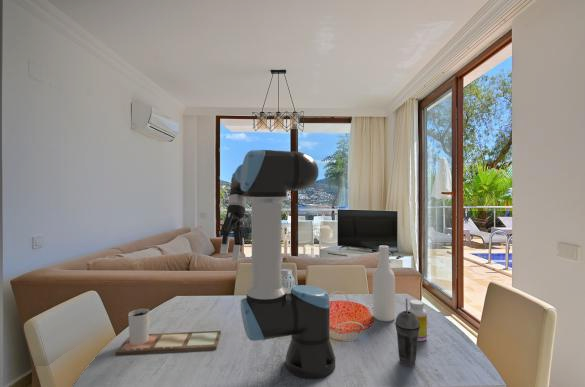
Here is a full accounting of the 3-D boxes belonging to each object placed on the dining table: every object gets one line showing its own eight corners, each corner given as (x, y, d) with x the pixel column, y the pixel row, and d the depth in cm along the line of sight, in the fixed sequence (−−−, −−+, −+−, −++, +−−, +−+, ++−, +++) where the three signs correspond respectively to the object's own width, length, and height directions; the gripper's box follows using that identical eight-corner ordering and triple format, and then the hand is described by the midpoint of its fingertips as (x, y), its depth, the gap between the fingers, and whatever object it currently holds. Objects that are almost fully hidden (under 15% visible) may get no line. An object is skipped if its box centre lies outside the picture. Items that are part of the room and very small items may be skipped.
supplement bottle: (429, 337, 112) (429, 301, 112) (422, 343, 107) (422, 306, 107) (411, 331, 117) (411, 297, 116) (403, 337, 112) (403, 302, 112)
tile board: (216, 349, 104) (216, 346, 104) (115, 355, 100) (115, 351, 100) (220, 333, 116) (220, 330, 116) (130, 337, 112) (130, 334, 112)
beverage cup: (422, 360, 97) (422, 296, 97) (417, 371, 91) (417, 303, 91) (398, 353, 101) (398, 292, 101) (392, 364, 95) (392, 298, 95)
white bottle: (399, 318, 128) (399, 246, 128) (385, 324, 123) (385, 248, 123) (382, 312, 135) (382, 243, 135) (368, 316, 130) (368, 245, 130)
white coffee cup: (129, 338, 109) (129, 310, 109) (150, 335, 112) (149, 307, 112) (127, 347, 103) (127, 317, 103) (149, 343, 106) (149, 314, 105)
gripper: (237, 216, 143) (231, 262, 135) (217, 195, 120) (208, 249, 112) (253, 216, 142) (247, 263, 134) (235, 195, 119) (227, 250, 111)
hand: (229, 257), depth 123 cm, fingers open, 13 cm apart
